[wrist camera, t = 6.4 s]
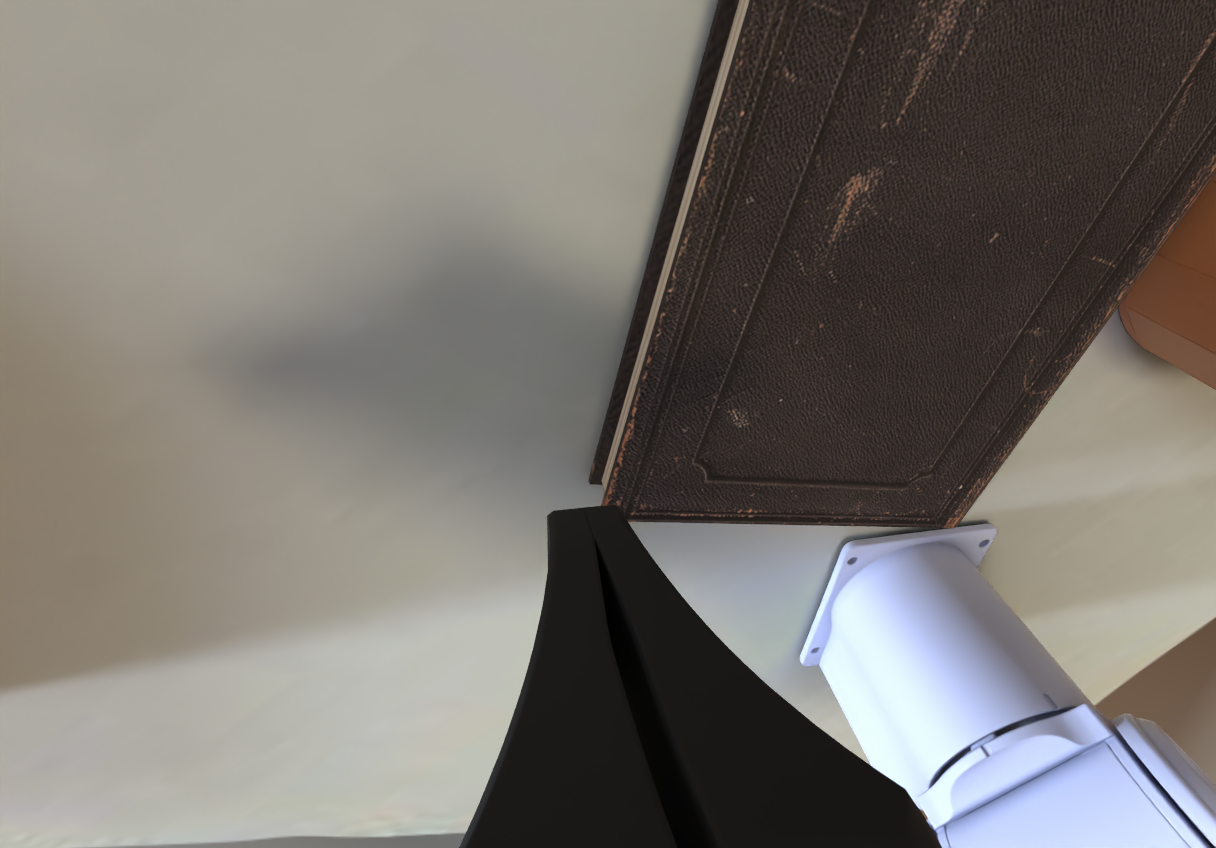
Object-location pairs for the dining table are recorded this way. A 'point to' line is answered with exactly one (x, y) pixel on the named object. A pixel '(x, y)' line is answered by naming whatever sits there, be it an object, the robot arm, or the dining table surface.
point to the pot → (1180, 295)
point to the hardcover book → (896, 247)
